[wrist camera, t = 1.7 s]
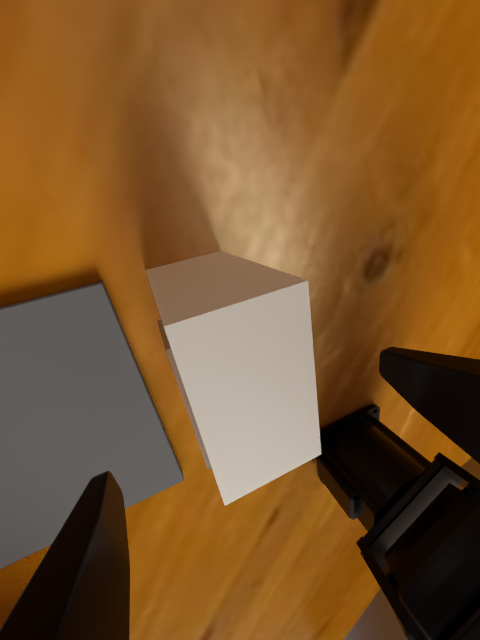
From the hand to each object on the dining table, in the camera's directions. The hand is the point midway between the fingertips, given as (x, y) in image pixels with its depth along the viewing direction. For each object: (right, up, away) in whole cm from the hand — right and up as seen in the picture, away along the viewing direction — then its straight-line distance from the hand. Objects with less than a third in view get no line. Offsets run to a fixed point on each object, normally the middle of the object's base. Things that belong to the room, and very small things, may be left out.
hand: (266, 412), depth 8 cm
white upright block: (-3, +3, +7) cm, 8 cm away
